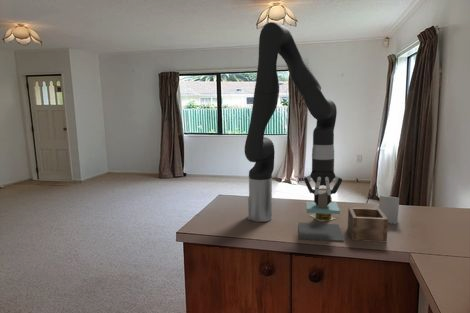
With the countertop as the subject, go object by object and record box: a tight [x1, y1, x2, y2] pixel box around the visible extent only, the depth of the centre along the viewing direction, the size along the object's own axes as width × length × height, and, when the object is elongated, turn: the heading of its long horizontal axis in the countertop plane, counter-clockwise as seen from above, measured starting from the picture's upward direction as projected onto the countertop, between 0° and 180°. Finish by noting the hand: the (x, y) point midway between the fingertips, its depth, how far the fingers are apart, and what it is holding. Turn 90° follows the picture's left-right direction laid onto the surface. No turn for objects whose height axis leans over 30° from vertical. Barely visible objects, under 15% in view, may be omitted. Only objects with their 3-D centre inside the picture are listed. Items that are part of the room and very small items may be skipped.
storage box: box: [347, 207, 389, 243], centre depth 115 cm, size 11×11×8 cm
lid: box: [305, 190, 341, 215], centre depth 117 cm, size 11×11×6 cm
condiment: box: [309, 187, 337, 223], centre depth 133 cm, size 7×8×12 cm
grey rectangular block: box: [378, 195, 400, 225], centre depth 128 cm, size 4×7×10 cm, turn 59°
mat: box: [298, 221, 345, 243], centre depth 119 cm, size 15×15×1 cm
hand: (322, 204), depth 117 cm, fingers closed on lid, 3 cm apart
